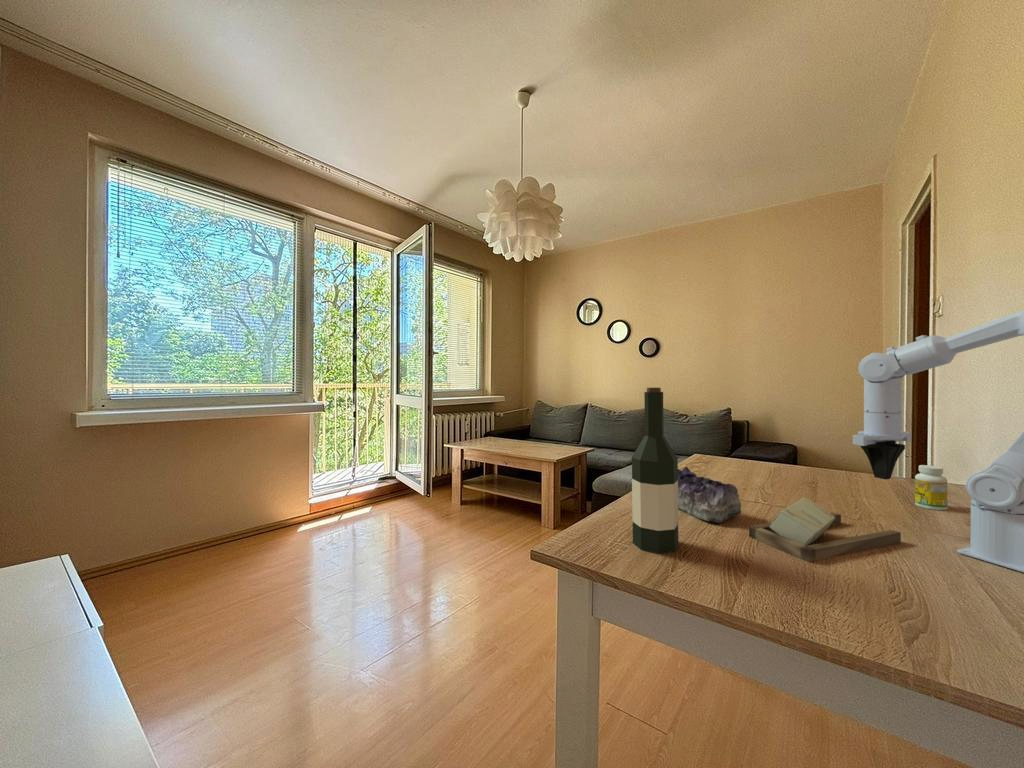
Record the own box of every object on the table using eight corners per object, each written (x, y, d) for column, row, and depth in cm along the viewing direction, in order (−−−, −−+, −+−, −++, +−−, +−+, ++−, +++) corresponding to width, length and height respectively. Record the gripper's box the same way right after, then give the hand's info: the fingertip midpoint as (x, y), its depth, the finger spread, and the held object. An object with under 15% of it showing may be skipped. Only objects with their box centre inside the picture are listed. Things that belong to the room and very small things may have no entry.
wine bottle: (683, 555, 73) (681, 388, 72) (634, 552, 75) (632, 388, 74) (674, 537, 81) (672, 386, 80) (630, 534, 83) (629, 387, 82)
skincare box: (836, 517, 79) (816, 535, 72) (823, 533, 81) (802, 552, 74) (803, 495, 84) (780, 510, 76) (791, 511, 85) (768, 527, 78)
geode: (647, 501, 105) (650, 462, 105) (684, 502, 108) (686, 464, 109) (708, 525, 85) (712, 477, 86) (750, 525, 89) (753, 479, 89)
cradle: (900, 543, 76) (900, 532, 76) (809, 562, 69) (809, 550, 69) (833, 521, 88) (833, 512, 88) (749, 536, 81) (748, 526, 81)
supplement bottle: (953, 511, 93) (953, 470, 93) (923, 509, 95) (923, 468, 94) (938, 504, 98) (938, 465, 98) (909, 502, 100) (909, 463, 99)
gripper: (882, 409, 89) (882, 470, 90) (836, 412, 85) (836, 476, 85) (923, 411, 83) (923, 478, 83) (875, 415, 78) (875, 485, 78)
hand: (882, 478), depth 84 cm, fingers closed
